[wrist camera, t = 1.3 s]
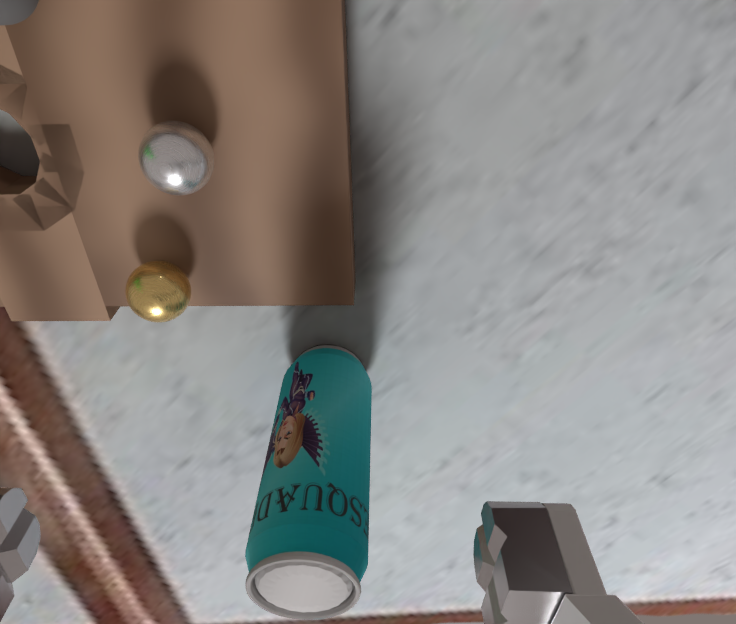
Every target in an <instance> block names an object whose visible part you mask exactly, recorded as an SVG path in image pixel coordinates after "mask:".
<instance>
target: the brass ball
mask: <svg viewBox="0 0 736 624" xmlns="http://www.w3.org/2000/svg"><path fill="white" fill-rule="evenodd" d="M125 294H126V299H127V302H128V304H129V306H130V308H131V309H132V310H133V311H134V313H136V314H137V315H138V316H139V317H141V318H143V319H145V320H148V321H151V322H166V321H170V320H172V319H175V318H176V317H178V316H179V315H181V314H182V313H183V312H184V311H185V309H186V308H187V306H188V304H189V302H190V299H191V285H190V282H189V279H188V277H187V276H186V274H185V273H184V272H183V271H182V270H181V269H180V268H179V267H177V266H176V265H174V264H172V263H169V262H166V261H150V262H147V263H144V264H142V265H140V266H139V267H137V268H136V269H135V270H134V271H133V272H132V273H131V275H130V276H129V278H128V280H127V283H126V288H125Z"/></svg>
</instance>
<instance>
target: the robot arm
mask: <svg viewBox="0 0 736 624" xmlns="http://www.w3.org/2000/svg"><path fill="white" fill-rule="evenodd" d="M27 501H28V499H27V498H26V496H25V494H24V492H23V491H22V489H21V488H6V487H0V622H1V620H2V618H3V616H4V614H5V612H6V610H7V609H8V607H9V605H10V603H11V601H12V599H13V597H14V591H13V586H12V582H14V581H15V580H16V579H17V578H19V577H20V576H21V575H23V574H24V573H25V572H26V571H28V569H29V567H30V565H31V563H32V561H33V559H34V557H35V555H36V553H37V549H38V545H39V540H40V525H39V522H38V520H37V518H36V516H35V515H33V514H32V513H30V512H29V511H27V510H26V509H24V508H23V507H24V506H25V504H26V502H27ZM481 516H482V521H483V525H481V526H480V527H478V528H477V530H476V535H475V539H474V565H475V573H476V579H477V582H478V584H479V585H480V586H481V587H482V588H483V590H484V591H485V592H486V594H485V597H484V600H483V603H482V607H481V608H482V614H483V620H484V624H644V623H643V622H642V621H641V620H640V619H639V618H638V617H637V616H636V615H635V614H634V613H633V612H632V611H631V610H630V609H629V608H628V607H627V606H626V605H625V604H624V603H623V602H622V601H621V600H620V599H619V598H618V597H617V596H616V595H607V594H606V591H605V588H604V585H603V583H602V580H601V577H600V575H599V572H598V569H597V567H596V564H595V561H594V559H593V556H592V553H591V550H590V548H589V545H588V542H587V540H586V537H585V534H584V532H583V529H582V526H581V524H580V521H579V518H578V515H577V513H576V510H575V509H574V508H573V506H572V505H571V504H567V503H540V502H495V501H487V502H486V503H485V504H484V505H483V509H482V512H481Z"/></svg>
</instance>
